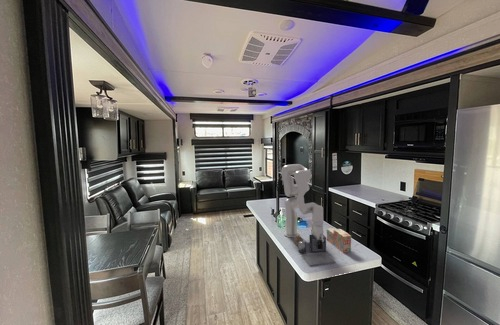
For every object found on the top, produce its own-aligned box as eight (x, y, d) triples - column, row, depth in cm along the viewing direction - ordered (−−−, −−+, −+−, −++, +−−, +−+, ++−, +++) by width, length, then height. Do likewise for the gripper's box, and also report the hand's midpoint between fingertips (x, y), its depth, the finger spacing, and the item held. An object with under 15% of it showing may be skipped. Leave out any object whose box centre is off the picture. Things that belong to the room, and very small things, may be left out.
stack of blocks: (326, 239, 175) (326, 225, 173) (333, 239, 176) (333, 224, 175) (343, 253, 154) (343, 236, 153) (351, 251, 155) (351, 235, 154)
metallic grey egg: (297, 250, 159) (297, 241, 158) (303, 249, 160) (303, 240, 159) (300, 253, 154) (300, 244, 153) (306, 252, 155) (306, 243, 154)
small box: (323, 247, 162) (323, 233, 161) (326, 251, 156) (326, 237, 155) (309, 247, 162) (309, 234, 161) (311, 252, 156) (311, 238, 155)
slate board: (301, 255, 151) (301, 254, 151) (325, 252, 154) (325, 251, 154) (309, 266, 138) (309, 264, 138) (335, 262, 142) (335, 261, 141)
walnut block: (294, 243, 170) (294, 237, 170) (300, 242, 171) (300, 236, 171) (296, 246, 165) (296, 240, 165) (303, 245, 166) (303, 239, 166)
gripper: (307, 218, 165) (307, 241, 167) (318, 227, 148) (318, 252, 150) (316, 218, 166) (316, 240, 168) (328, 226, 149) (328, 251, 151)
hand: (317, 246), depth 159 cm, fingers closed on small box, 6 cm apart
